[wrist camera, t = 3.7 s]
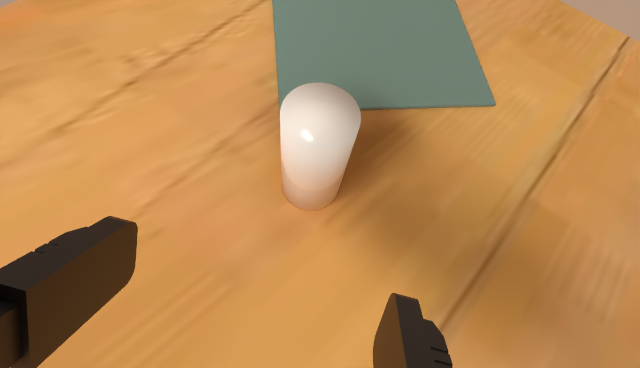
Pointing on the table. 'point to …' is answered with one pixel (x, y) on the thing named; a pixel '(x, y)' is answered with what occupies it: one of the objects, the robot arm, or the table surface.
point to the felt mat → (380, 52)
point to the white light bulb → (316, 143)
